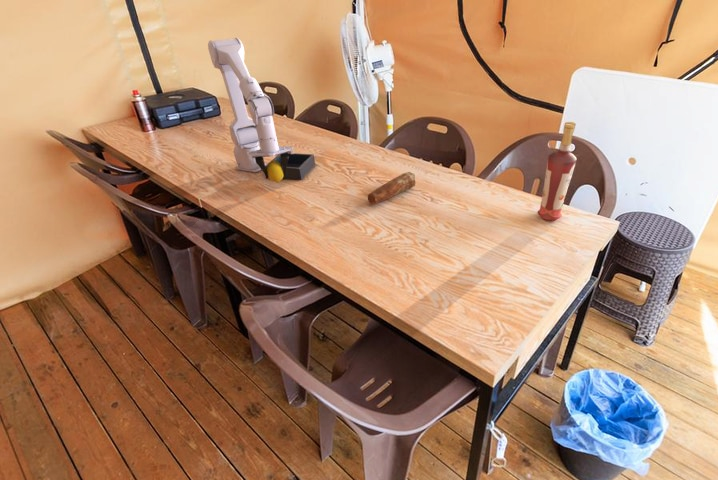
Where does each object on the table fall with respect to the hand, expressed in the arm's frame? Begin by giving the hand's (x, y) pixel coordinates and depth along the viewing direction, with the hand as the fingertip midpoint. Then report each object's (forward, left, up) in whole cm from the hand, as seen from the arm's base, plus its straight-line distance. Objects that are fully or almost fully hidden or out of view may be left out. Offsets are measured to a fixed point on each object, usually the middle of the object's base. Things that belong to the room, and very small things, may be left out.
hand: (276, 176), depth 138 cm
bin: (-4, +14, -5) cm, 15 cm away
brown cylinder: (+40, +8, -5) cm, 41 cm away
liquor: (+90, +11, -5) cm, 91 cm away
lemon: (0, 0, -3) cm, 3 cm away
